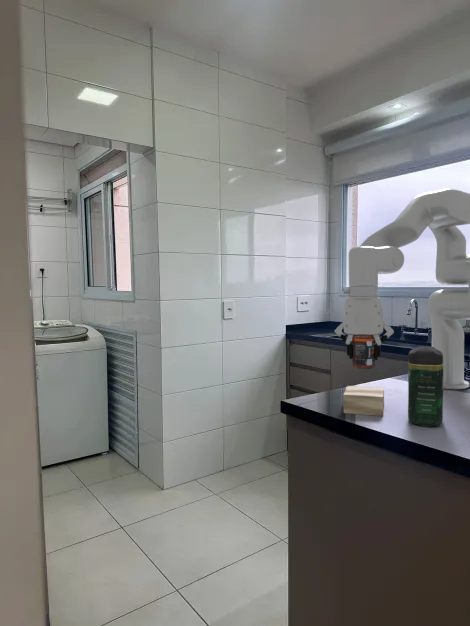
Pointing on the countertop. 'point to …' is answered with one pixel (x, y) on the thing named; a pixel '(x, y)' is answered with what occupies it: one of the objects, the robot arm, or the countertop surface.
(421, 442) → the countertop surface
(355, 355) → the supplement bottle
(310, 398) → the countertop surface
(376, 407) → the beech block
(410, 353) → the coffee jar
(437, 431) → the countertop surface
